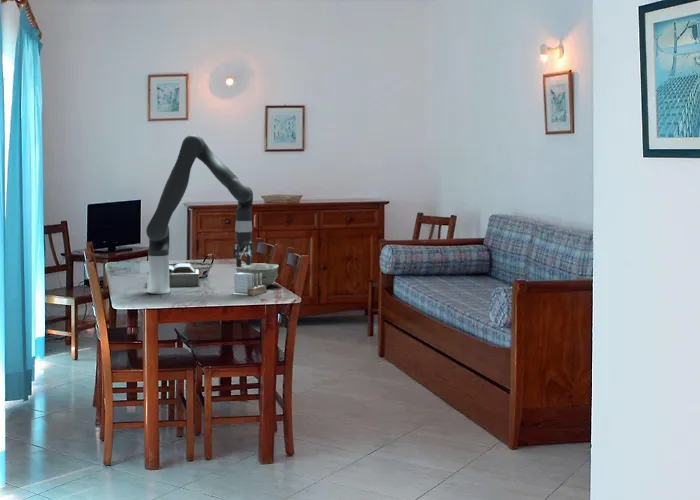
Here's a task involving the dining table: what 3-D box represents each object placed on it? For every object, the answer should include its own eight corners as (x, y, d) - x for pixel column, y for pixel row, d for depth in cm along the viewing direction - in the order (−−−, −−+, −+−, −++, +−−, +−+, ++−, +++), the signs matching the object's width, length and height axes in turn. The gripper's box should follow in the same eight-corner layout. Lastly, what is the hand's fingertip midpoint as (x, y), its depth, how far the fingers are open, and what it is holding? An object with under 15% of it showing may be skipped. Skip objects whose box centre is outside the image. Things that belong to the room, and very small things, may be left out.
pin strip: (247, 295, 406) (247, 275, 405) (260, 291, 416) (260, 272, 416) (253, 296, 404) (253, 276, 403) (266, 292, 415) (266, 272, 414)
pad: (232, 294, 410) (232, 293, 410) (243, 290, 419) (243, 290, 419) (247, 295, 407) (247, 294, 407) (258, 291, 416) (258, 291, 416)
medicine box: (254, 292, 413) (253, 273, 412) (248, 293, 409) (247, 274, 408) (240, 291, 417) (240, 272, 416) (234, 292, 413) (233, 273, 412)
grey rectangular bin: (197, 288, 429) (196, 268, 428) (140, 288, 429) (140, 268, 428) (205, 281, 452) (205, 262, 451) (151, 281, 452) (151, 262, 451)
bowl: (237, 290, 421) (237, 269, 420) (233, 284, 441) (233, 263, 440) (281, 288, 425) (281, 267, 424) (276, 282, 445) (276, 262, 444)
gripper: (244, 229, 418) (244, 263, 420) (228, 231, 405) (228, 267, 407) (258, 229, 415) (258, 264, 417) (242, 232, 402) (242, 268, 404)
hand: (243, 266), depth 412 cm, fingers open, 8 cm apart
